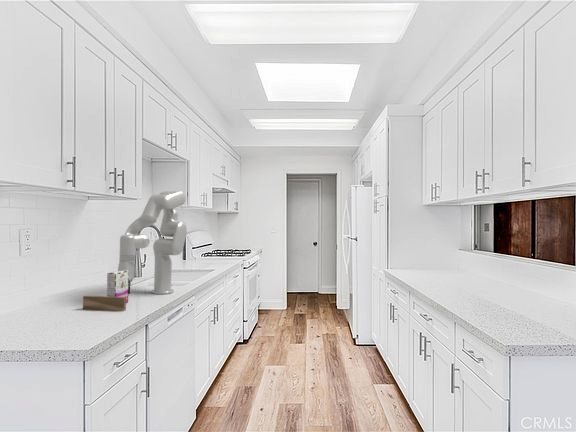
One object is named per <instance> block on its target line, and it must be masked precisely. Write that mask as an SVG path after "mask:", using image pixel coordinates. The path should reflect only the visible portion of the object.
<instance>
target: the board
mask: <svg viewBox="0 0 576 432" xmlns="http://www.w3.org/2000/svg"><path fill="white" fill-rule="evenodd" d="M126 309H127V303H126V297H108V296H107V295H106V296H105V295H104V296H103V295H84V296H82V310H96V311H116V312H118V311H119V312H125V311H126Z"/></svg>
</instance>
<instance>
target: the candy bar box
mask: <svg viewBox="0 0 576 432" xmlns="http://www.w3.org/2000/svg"><path fill="white" fill-rule="evenodd" d="M106 275H107V276H106V279H107V280H106V288H107V289H106V296H108V297H126V304H127V303H129V294H128V271H118V270H117V271H116V270H115V271H112V272H107V274H106Z"/></svg>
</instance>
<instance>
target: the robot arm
mask: <svg viewBox="0 0 576 432" xmlns="http://www.w3.org/2000/svg"><path fill="white" fill-rule="evenodd" d="M186 201H187V196H186V194H185V192H183V191H181V190H163V191H161V192H160V193H159V194H152V195H151V196H150V197H149V199H148V201H147V202H146V205H145V207H144V209H143V212H142V214H141V215H140V216H139V217H138V218H137V219H135V220H134V221H133V222H132V223H131V224H130V225H129V226H128V227H127V229H126V230H125V233H124V234H122V235H121V236H120V237H119V263H118V267H117V271H128V295H130V294H131V285H132V282H133V280H134V279H135V277H136V267H135V261H136V249H145V248H147V247H148V246H149V245H150V238H149V236H148V235H145V234H140V231H142V230H143V229H146V228H148V227H150V226H153V225H154V224H155V223H156V222H157V220H158V219H159V216H160V214H161V211H162V210H163V215H162V219H161V224H160V229H159V234H160V235H161V236H163V237H167V238H163V237H161V238H158V239H156V240H155V241H154V242H153V245H152V247H153V255H154V274H153V275H154V279H153V282H154V283H153V289H151V291H150V292H151V294H154V295H167V294H172V293H174V291H175V290H174V289H172V286H173V284H172V265H173V263H172V258H171V256H179V255H181V253H182V252H183V250H184V245H185V242H186V238H187V237H186V236H187V231H188V230H187V225H186V223H184V222H183V221H181V220H178V218H179V211H178V209H177V208H178V207H181V206H183V205H185V202H186Z"/></svg>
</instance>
